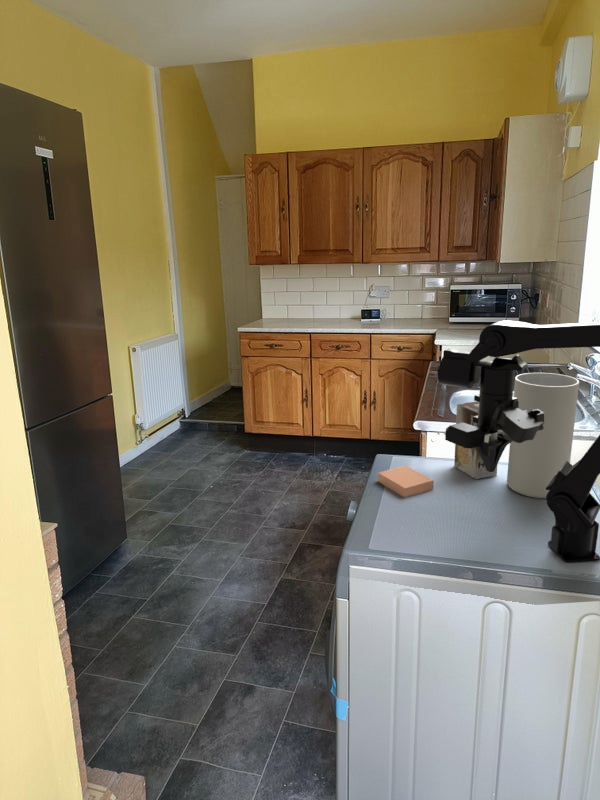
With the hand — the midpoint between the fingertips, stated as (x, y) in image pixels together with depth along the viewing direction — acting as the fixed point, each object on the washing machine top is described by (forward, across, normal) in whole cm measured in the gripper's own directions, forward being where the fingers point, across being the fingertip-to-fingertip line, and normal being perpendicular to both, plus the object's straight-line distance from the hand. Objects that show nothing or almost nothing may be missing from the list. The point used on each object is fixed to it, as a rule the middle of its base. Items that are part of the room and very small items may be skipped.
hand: (490, 471), depth 108 cm
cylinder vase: (+12, +24, +8) cm, 28 cm away
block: (+11, -1, +19) cm, 22 cm away
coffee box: (+12, +19, +22) cm, 32 cm away
